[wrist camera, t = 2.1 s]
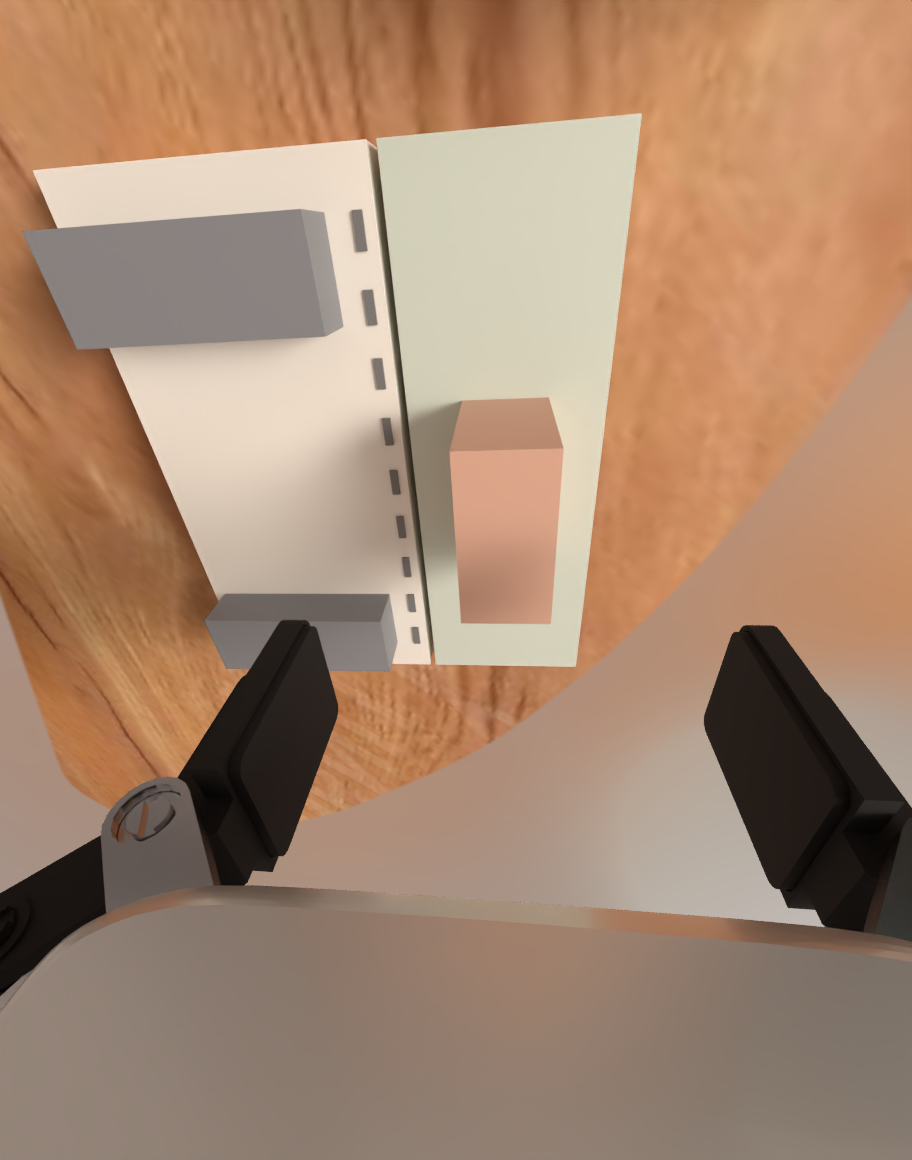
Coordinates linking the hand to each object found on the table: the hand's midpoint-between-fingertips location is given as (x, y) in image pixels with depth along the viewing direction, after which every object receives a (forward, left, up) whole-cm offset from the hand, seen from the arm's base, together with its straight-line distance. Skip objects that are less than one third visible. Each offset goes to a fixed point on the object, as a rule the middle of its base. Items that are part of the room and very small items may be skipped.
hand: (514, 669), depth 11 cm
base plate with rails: (-1, -9, -11) cm, 14 cm away
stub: (-1, 0, -11) cm, 11 cm away
